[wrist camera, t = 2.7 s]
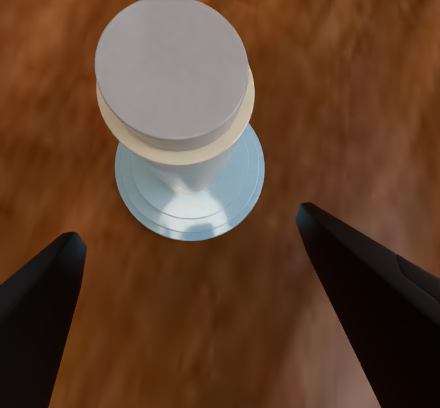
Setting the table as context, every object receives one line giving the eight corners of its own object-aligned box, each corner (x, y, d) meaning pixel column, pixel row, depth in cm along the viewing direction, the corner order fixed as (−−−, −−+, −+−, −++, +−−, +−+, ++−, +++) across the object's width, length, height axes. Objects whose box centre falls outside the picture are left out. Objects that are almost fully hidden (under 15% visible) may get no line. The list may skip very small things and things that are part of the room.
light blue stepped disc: (289, 180, 22) (303, 174, 19) (180, 270, 20) (176, 279, 17) (203, 73, 22) (203, 50, 19) (87, 155, 20) (68, 144, 17)
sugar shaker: (240, 166, 18) (299, 85, 7) (184, 209, 18) (157, 193, 7) (196, 112, 18) (188, -52, 7) (139, 153, 18) (35, 43, 7)
